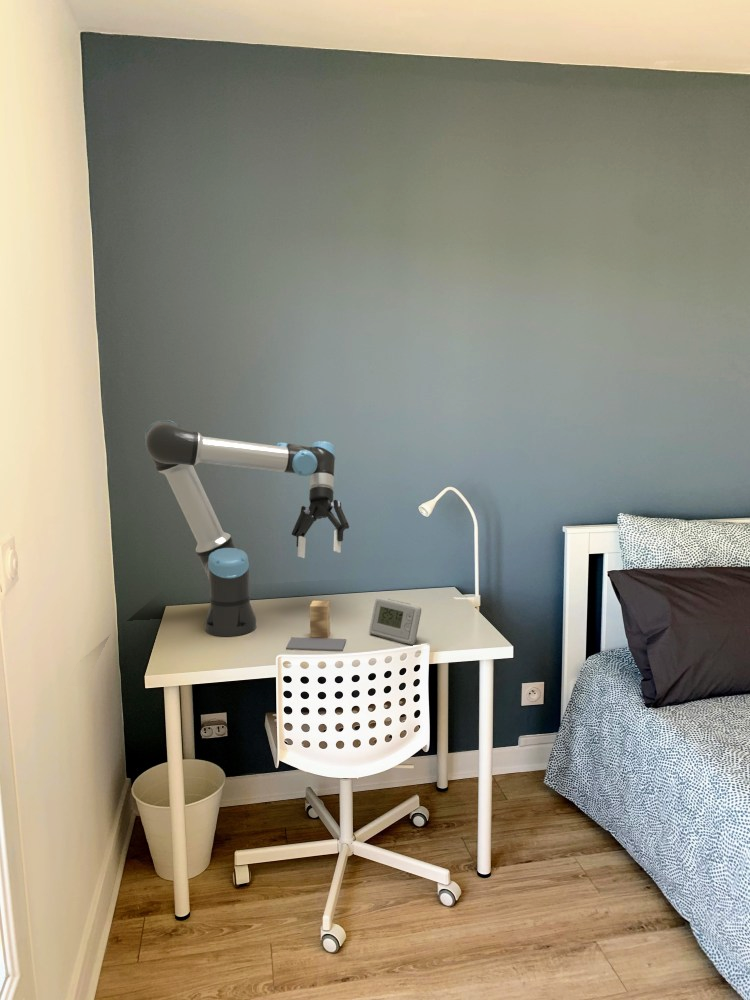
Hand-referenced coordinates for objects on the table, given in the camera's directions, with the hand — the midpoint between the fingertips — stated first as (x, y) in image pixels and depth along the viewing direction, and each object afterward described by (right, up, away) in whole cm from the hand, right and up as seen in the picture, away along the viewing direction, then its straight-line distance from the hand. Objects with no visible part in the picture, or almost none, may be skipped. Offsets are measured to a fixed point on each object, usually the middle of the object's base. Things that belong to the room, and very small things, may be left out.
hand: (318, 554), depth 237 cm
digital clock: (+23, -24, -12) cm, 35 cm away
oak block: (+1, -23, -10) cm, 25 cm away
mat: (+1, -24, -17) cm, 30 cm away
